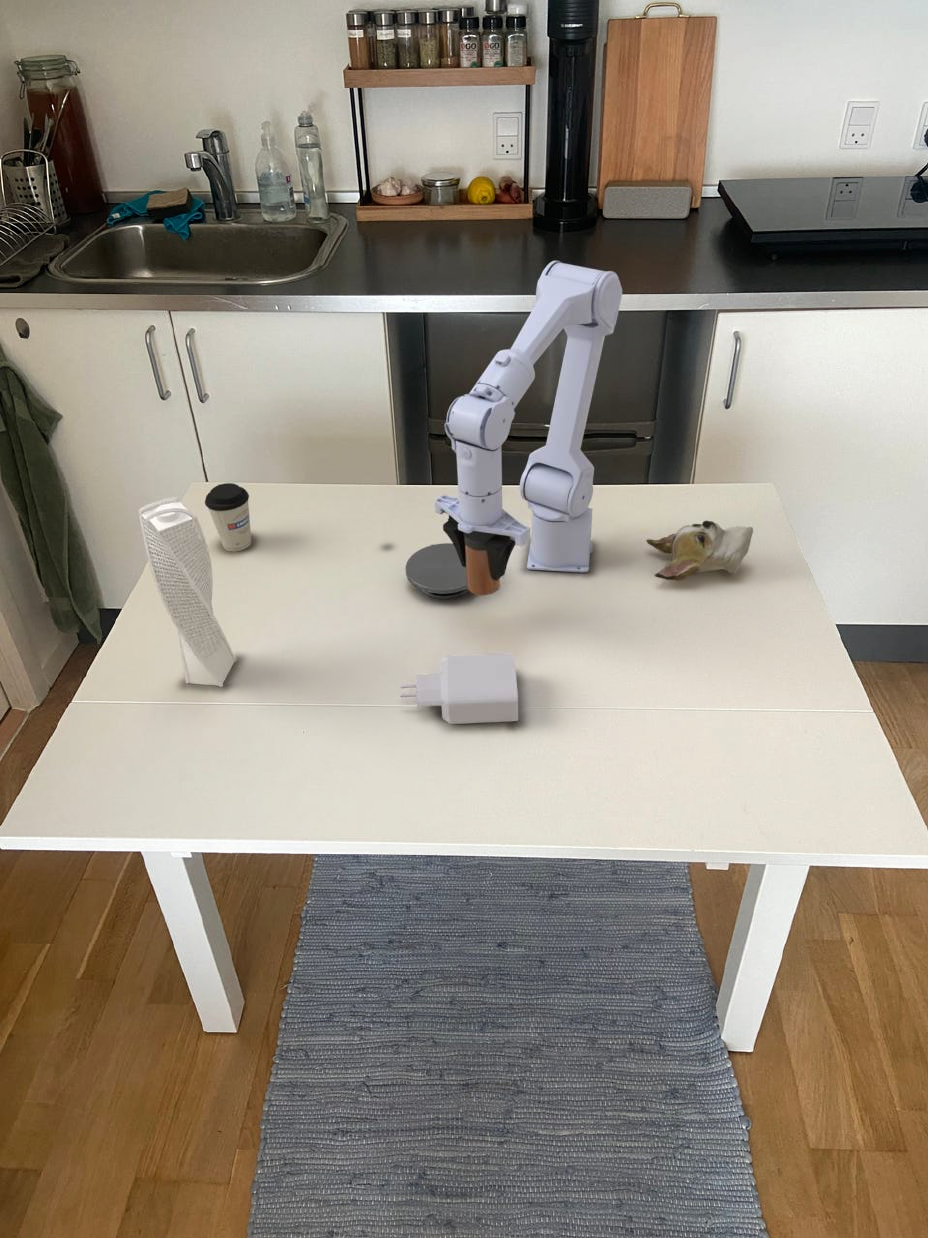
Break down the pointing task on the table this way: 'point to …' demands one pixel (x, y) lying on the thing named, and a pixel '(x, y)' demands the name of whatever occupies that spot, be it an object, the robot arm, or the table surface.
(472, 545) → the spice jar
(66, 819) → the table surface
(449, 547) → the steel stand
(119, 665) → the table surface
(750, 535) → the ceramic sculpture
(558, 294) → the robot arm
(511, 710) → the charger
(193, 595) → the skyscraper
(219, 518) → the coffee cup
